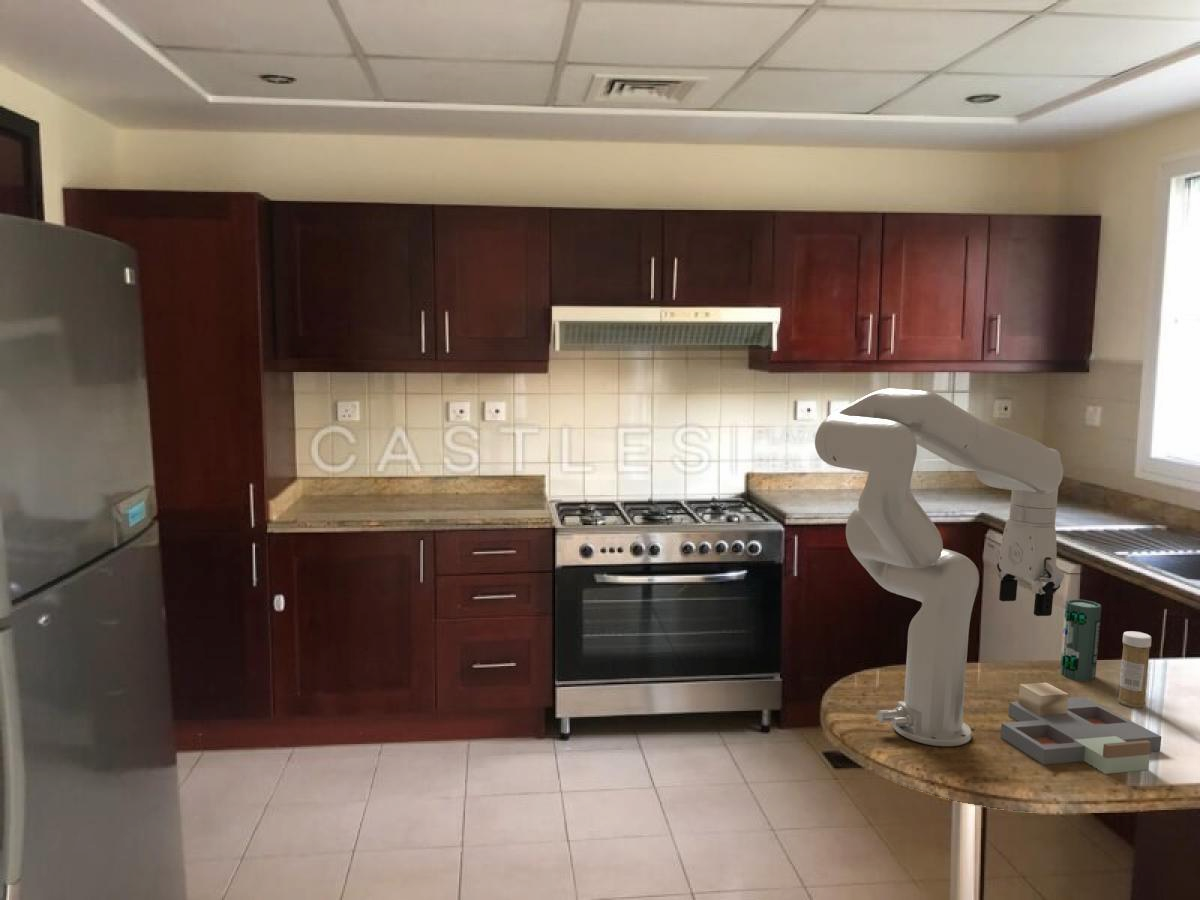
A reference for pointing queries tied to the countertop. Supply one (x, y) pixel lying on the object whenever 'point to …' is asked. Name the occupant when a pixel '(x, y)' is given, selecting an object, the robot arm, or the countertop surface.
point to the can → (1080, 639)
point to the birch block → (1043, 698)
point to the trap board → (1081, 737)
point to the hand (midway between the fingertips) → (1024, 607)
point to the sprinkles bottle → (1134, 669)
